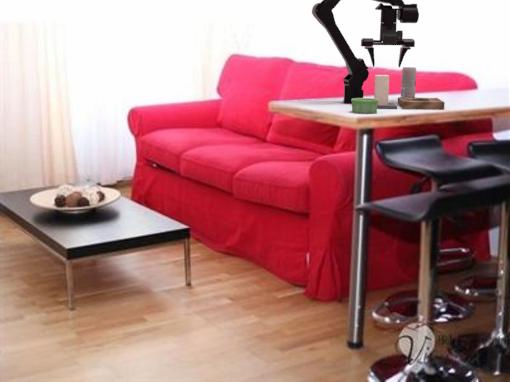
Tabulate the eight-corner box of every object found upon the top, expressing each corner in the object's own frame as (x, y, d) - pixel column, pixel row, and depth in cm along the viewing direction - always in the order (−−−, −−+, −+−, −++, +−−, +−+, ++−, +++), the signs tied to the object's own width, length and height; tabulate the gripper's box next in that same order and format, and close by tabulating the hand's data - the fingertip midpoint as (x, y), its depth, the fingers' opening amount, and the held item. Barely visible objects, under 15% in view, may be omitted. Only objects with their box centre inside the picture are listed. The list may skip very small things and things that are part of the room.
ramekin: (375, 110, 258) (376, 97, 257) (380, 114, 249) (380, 100, 248) (348, 110, 257) (349, 97, 256) (352, 114, 249) (353, 100, 248)
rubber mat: (367, 108, 263) (367, 105, 263) (365, 105, 273) (365, 102, 272) (397, 109, 262) (397, 106, 262) (393, 105, 272) (393, 102, 272)
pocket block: (402, 109, 262) (403, 101, 262) (397, 104, 276) (397, 97, 275) (444, 109, 262) (444, 102, 261) (436, 104, 275) (437, 97, 275)
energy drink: (414, 98, 294) (415, 67, 292) (415, 100, 289) (417, 68, 286) (399, 98, 295) (401, 67, 292) (401, 100, 290) (402, 68, 287)
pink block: (375, 104, 265) (376, 75, 263) (373, 103, 269) (375, 74, 267) (388, 105, 265) (389, 75, 263) (386, 103, 269) (387, 74, 267)
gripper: (364, 23, 267) (362, 68, 271) (418, 23, 266) (415, 68, 270) (361, 22, 278) (359, 66, 281) (413, 23, 277) (411, 66, 280)
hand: (386, 66), depth 278 cm, fingers open, 9 cm apart
